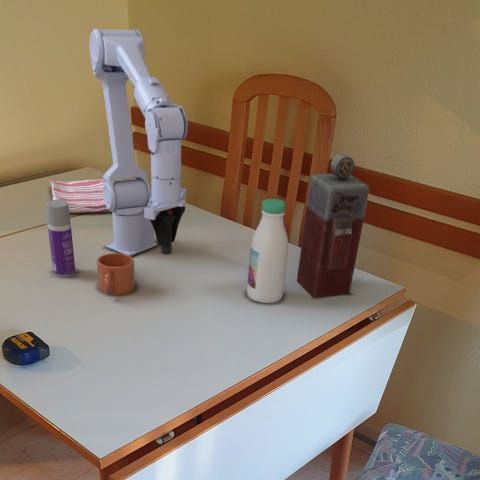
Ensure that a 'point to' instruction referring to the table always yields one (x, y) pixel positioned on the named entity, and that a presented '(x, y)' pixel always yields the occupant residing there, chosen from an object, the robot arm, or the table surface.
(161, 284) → the table surface
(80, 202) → the dish towel
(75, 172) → the table surface
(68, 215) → the container
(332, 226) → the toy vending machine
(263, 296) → the milk bottle
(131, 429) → the table surface
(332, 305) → the table surface
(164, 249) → the marker
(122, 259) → the orange coffee mug
